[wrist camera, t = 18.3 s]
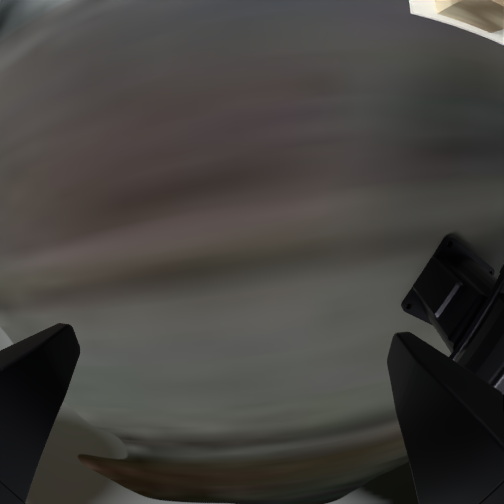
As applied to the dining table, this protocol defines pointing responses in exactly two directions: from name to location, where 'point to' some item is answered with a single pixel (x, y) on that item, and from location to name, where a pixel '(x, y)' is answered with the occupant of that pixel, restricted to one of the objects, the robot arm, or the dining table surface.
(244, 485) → the dining table surface
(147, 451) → the dining table surface
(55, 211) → the dining table surface
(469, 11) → the beech block
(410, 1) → the letter
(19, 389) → the robot arm
